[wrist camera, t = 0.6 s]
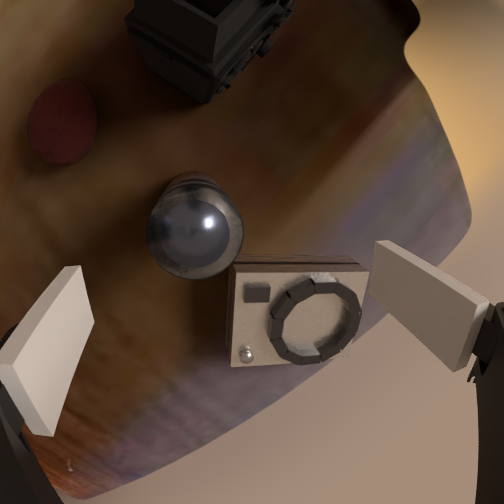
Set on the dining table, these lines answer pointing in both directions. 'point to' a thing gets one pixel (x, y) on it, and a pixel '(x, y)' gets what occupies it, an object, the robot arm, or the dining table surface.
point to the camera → (203, 39)
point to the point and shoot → (292, 308)
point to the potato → (62, 123)
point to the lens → (194, 228)
